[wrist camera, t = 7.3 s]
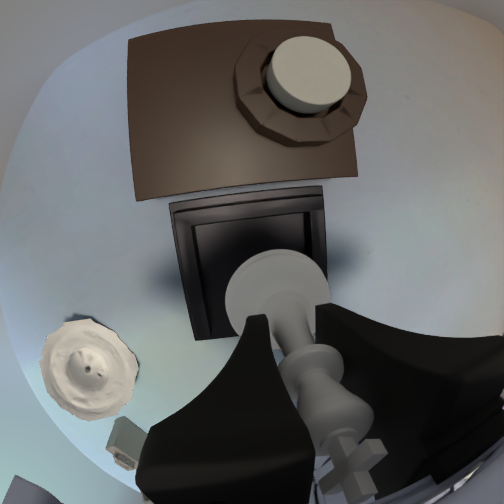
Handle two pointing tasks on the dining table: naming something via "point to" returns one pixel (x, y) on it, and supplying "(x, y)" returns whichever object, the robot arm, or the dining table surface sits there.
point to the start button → (308, 74)
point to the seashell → (88, 370)
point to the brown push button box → (230, 111)
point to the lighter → (127, 446)
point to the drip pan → (240, 243)
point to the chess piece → (309, 364)
